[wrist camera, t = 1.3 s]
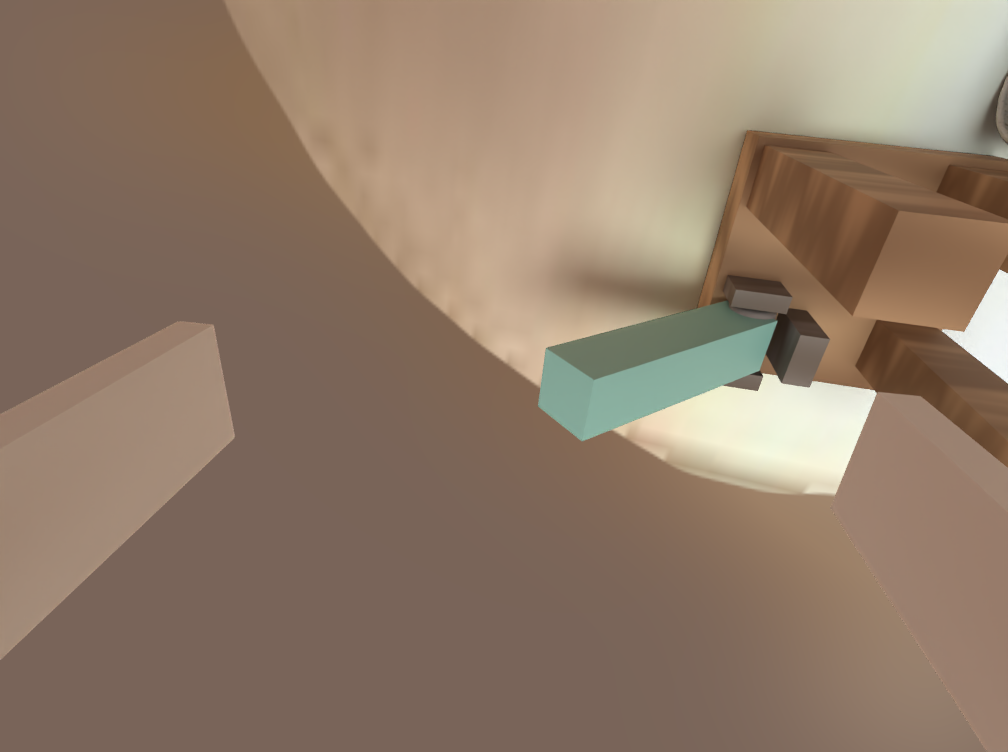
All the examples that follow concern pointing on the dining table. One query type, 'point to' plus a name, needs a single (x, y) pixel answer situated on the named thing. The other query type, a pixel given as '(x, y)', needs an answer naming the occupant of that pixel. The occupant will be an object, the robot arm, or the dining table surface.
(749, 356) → the hinged leg
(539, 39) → the dining table surface
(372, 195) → the dining table surface
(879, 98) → the dining table surface
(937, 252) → the upturned wooden stool
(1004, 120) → the ceramic mug
